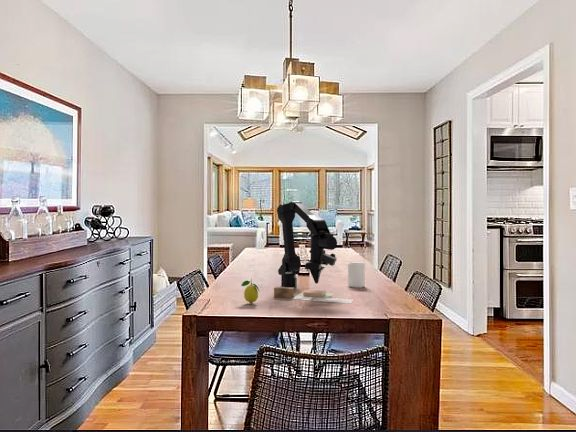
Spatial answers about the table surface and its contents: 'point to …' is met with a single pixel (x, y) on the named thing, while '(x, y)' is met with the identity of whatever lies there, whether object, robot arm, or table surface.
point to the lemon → (250, 292)
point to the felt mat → (321, 297)
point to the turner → (288, 294)
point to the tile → (314, 293)
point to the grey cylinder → (356, 274)
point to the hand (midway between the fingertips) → (316, 283)
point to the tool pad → (333, 300)
